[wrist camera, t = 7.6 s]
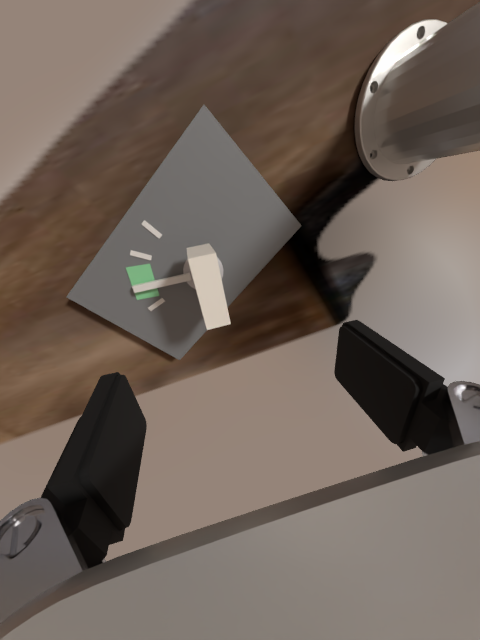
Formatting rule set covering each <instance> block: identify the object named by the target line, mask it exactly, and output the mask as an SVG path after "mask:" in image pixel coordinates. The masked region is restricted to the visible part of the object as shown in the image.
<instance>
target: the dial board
mask: <svg viewBox="0 0 480 640" xmlns="http://www.w3.org/2000/svg"><path fill="white" fill-rule="evenodd" d="M300 227H301V224H300V223H299V222H298V221H297V219H296V218H295V217H294V216H293V214H292V213H291V212H290V211H289V210H288V208H287V207H286V206H285V205H284V203H283V202H282V201H281V200H280V198H279V197H278V196H277V195H276V193H275V192H274V191H273V190H272V188H271V187H270V186H269V185H268V183H267V182H266V181H265V180H264V178H263V177H262V176H261V175H260V173H259V172H258V171H257V170H256V168H255V167H254V166H253V165H252V163H251V162H250V161H249V160H248V158H247V157H246V156H245V155H244V154H243V152H242V151H241V150H240V149H239V147H238V146H237V145H236V144H235V142H234V141H233V140H232V139H231V137H230V136H229V135H228V134H227V132H226V131H225V130H224V129H223V127H222V126H221V125H220V124H219V122H218V121H217V120H216V119H215V117H214V116H213V115H212V114H211V112H210V111H209V110H208V109H207V107H206V106H205V105H203V106H202V108H201V109H200V111H199V112H198V113H197V115H196V116H195V118H194V119H193V120H192V122H191V123H190V125H189V126H188V127H187V129H186V130H185V132H184V133H183V134H182V136H181V137H180V139H179V140H178V141H177V143H176V144H175V146H174V147H173V148H172V150H171V151H170V153H169V154H168V155H167V157H166V158H165V160H164V161H163V162H162V164H161V165H160V167H159V168H158V169H157V171H156V172H155V174H154V175H153V176H152V178H151V179H150V181H149V182H148V183H147V185H146V186H145V188H144V189H143V190H142V192H141V193H140V195H139V196H138V197H137V199H136V200H135V202H134V203H133V204H132V206H131V207H130V209H129V210H128V211H127V213H126V214H125V216H124V217H123V218H122V220H121V221H120V223H119V224H118V225H117V227H116V228H115V230H114V231H113V232H112V234H111V235H110V237H109V238H108V239H107V241H106V242H105V244H104V245H103V246H102V248H101V249H100V251H99V252H98V253H97V255H96V256H95V258H94V259H93V260H92V262H91V263H90V265H89V266H88V267H87V269H86V270H85V272H84V273H83V274H82V276H81V277H80V279H79V280H78V281H77V283H76V284H75V286H74V287H73V288H72V290H71V291H70V293H69V294H68V295H67V298H69V299H71V300H72V301H74V302H76V303H78V304H80V305H81V306H83V307H85V308H87V309H89V310H90V311H92V312H94V313H96V314H97V315H99V316H101V317H103V318H105V319H106V320H108V321H110V322H112V323H114V324H115V325H117V326H119V327H121V328H123V329H124V330H126V331H128V332H130V333H132V334H133V335H135V336H137V337H139V338H141V339H142V340H144V341H146V342H148V343H150V344H151V345H153V346H155V347H157V348H159V349H160V350H162V351H164V352H166V353H167V354H169V355H171V356H173V357H175V358H176V359H178V360H180V359H181V358H182V357H183V356H184V355H185V354H186V353H187V351H188V350H189V349H190V348H191V347H192V346H193V345H194V344H195V343H196V342H197V340H198V339H199V338H200V337H201V336H202V335H203V334H204V333H205V332H206V330H207V329H206V325H205V321H204V317H203V314H202V310H201V306H200V303H199V299H198V295H197V291H196V288H195V284H194V280H193V277H192V273H191V269H190V265H189V262H188V257H187V248H189V247H194V246H199V245H203V244H208V243H209V244H210V245H211V247H212V248H213V249H214V251H215V252H216V255H217V260H218V265H219V270H220V274H221V279H222V284H223V289H224V294H225V299H226V303H227V307H228V306H229V305H230V304H231V303H232V302H233V301H234V300H235V299H236V297H237V296H238V295H239V294H240V293H241V292H242V291H243V290H244V289H245V287H246V286H247V285H248V284H249V283H250V282H251V281H252V280H253V279H254V278H255V276H256V275H257V274H258V273H259V272H260V271H261V270H262V269H263V268H264V267H265V265H266V264H267V263H268V262H269V261H270V260H271V259H272V258H273V257H274V256H275V254H276V253H277V252H278V251H279V250H280V249H281V248H282V247H283V246H284V244H285V243H286V242H287V241H288V240H289V239H290V238H291V237H292V236H293V235H294V233H295V232H296V231H297V230H298V229H299V228H300ZM186 273H190V276H191V280H190V281H186V282H181V283H177V284H172V285H168V286H163V287H159V288H155V289H150V290H146V291H141V292H137V293H134V290H133V288H132V286H133V285H136V284H141V283H145V282H150V281H154V280H159V279H163V278H168V277H172V276H177V275H181V274H186Z"/></svg>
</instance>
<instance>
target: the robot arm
mask: <svg viewBox="0 0 480 640" xmlns="http://www.w3.org/2000/svg"><path fill="white" fill-rule="evenodd" d="M355 140H356V146H357V150H358V153H359V156H360V158H361V160H362V162H363V164H364V166H365V167H366V168H367V170H368V171H369V172H370V173H371V174H373V175H374V176H375V177H377V178H380V179H382V180H388V181H396V180H404V179H407V178H411V177H413V176H415V175H417V174H419V173H420V172H422V171H423V170H424V169H425V168H427V167H428V166H430V165H431V164H432V162H433V161H435V159H436V158H441V157H447V156H452V155H458V154H463V153H468V152H474V151H480V2H479V3H477V4H476V5H474V6H473V7H471V8H470V9H468V10H467V11H465V12H464V13H463V14H461V15H460V16H458V17H457V18H455V19H454V20H452V21H451V22H449V23H448V24H447V23H446V22H443V21H440V20H437V19H429V20H422V21H419V22H417V23H414V24H412V25H410V26H409V27H407V28H406V29H405V30H403V31H402V32H400V33H399V34H398V35H397V36H395V37H394V38H393V39H392V40H391V41H390V42H388V43H387V45H386V46H385V47H384V48H383V49H382V51H381V52H380V53H379V54H378V55H377V57H376V59H375V60H374V62H373V64H372V65H371V67H370V69H369V71H368V73H367V75H366V77H365V80H364V82H363V84H362V87H361V91H360V94H359V97H358V101H357V107H356V113H355ZM335 377H336V379H337V380H338V381H339V382H340V383H341V385H342V386H343V387H344V388H345V389H346V391H347V392H348V393H349V394H350V395H351V396H352V397H353V399H354V400H355V401H356V402H357V403H358V404H359V405H360V407H361V408H362V409H363V410H364V411H365V412H366V414H367V415H368V416H369V417H370V418H371V419H372V421H373V422H374V423H375V424H376V425H377V426H378V427H379V429H380V430H381V431H382V432H383V433H384V434H385V436H386V437H387V438H388V439H389V440H390V441H391V442H392V443H394V444H397V445H398V446H399V447H400V449H401V450H402V451H407V450H410V449H413V448H416V446H418V447H419V448H420V449H421V450H422V454H423V457H420V458H417V459H414V460H410V461H407V462H404V463H401V464H398V465H395V466H392V467H389V468H385V469H382V470H379V471H376V472H373V473H369V474H366V475H363V476H360V477H357V478H354V479H351V480H348V481H345V482H341V483H338V484H335V485H332V486H329V487H326V488H323V489H320V490H317V491H314V492H310V493H307V494H304V495H301V496H298V497H295V498H292V499H289V500H286V501H283V502H280V503H277V504H273V505H270V506H267V507H264V508H261V509H258V510H255V511H252V512H249V513H246V514H243V515H240V516H237V517H234V518H231V519H228V520H225V521H222V522H219V523H216V524H213V525H210V526H207V527H204V528H201V529H198V530H195V531H192V532H188V533H186V534H182V535H179V536H176V537H173V538H171V539H168V540H165V541H162V542H159V543H157V544H154V545H151V546H148V547H145V548H142V549H139V550H136V551H134V552H131V553H128V554H125V555H122V556H120V557H117V558H114V559H112V560H109V561H107V562H106V560H105V559H104V558H105V556H106V555H107V551H108V546H109V545H110V544H113V543H117V542H119V541H123V537H124V531H125V528H126V527H129V525H130V523H131V518H132V512H133V506H134V500H135V494H136V488H137V482H138V476H139V470H140V464H141V458H142V452H143V446H144V439H145V433H146V420H145V417H144V415H143V413H142V411H141V409H140V407H139V404H138V402H137V400H136V398H135V396H134V394H133V391H132V389H131V387H130V385H129V383H128V380H127V378H126V376H125V375H120V374H119V373H118V372H116V373H112V374H107V375H103V376H101V377H100V379H99V381H98V383H97V385H96V387H95V389H94V392H93V394H92V396H91V398H90V400H89V402H88V404H87V406H86V408H85V410H84V412H83V415H82V416H81V417H80V419H79V420H78V422H77V424H76V426H75V428H74V430H73V432H72V434H71V436H70V438H69V441H68V443H67V444H66V447H65V449H64V451H63V453H62V455H61V457H60V459H59V461H58V463H57V465H56V467H55V469H54V471H53V473H52V475H51V477H50V479H49V481H48V484H47V486H46V488H45V490H44V492H43V494H42V496H41V498H37V499H32V500H30V501H27V502H25V503H23V504H21V505H19V506H18V507H17V508H15V509H14V510H12V511H11V512H9V513H8V514H7V515H6V516H5V517H4V518H3V519H2V520H1V521H0V640H480V385H479V384H476V383H472V382H465V381H457V382H453V383H450V385H449V386H448V387H447V386H445V385H443V382H444V378H443V377H442V376H440V375H439V374H437V373H436V372H434V371H433V370H431V369H430V368H428V367H427V366H425V365H424V364H422V363H421V362H419V361H418V360H416V359H415V358H413V357H412V356H410V355H409V354H407V353H406V352H405V351H403V350H402V349H400V348H398V347H397V346H396V345H394V344H392V343H391V342H390V341H388V340H387V339H385V338H384V337H382V336H380V335H379V334H378V333H376V332H375V331H373V330H372V329H370V328H369V327H367V326H366V325H364V324H363V323H361V322H360V321H358V320H355V321H349V322H345V323H343V325H342V327H340V329H339V337H338V346H337V355H336V363H335Z"/></svg>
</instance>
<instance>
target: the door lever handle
mask: <svg viewBox="0 0 480 640" xmlns="http://www.w3.org/2000/svg"><path fill="white" fill-rule="evenodd" d="M187 257H188V262H189V265H190V269H191V273H192V277H193V280H194V284H195V288H196V291H197V295H198V299H199V303H200V306H201V310H202V314H203V317H204V321H205V325H206V329H207V330H209V329H213V328H217V327H221V326H225V325H229V324H231V323H230V318H229V313H228V308H227V303H226V299H225V294H224V289H223V284H222V279H221V274H220V270H219V265H218V260H217V255H216V252H215V251H214V249H213V248H212V247H211V245H210V244H209V243H208V244H203V245H199V246H194V247H189V248H187ZM190 280H191V276H190V273H186V274H181V275H177V276H172V277H168V278H163V279H159V280H154V281H150V282H145V283H141V284H136V285H133V286H132V288H133V290H134V293H137V292H141V291H146V290H150V289H155V288H159V287H163V286H168V285H172V284H177V283H181V282H186V281H190Z"/></svg>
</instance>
